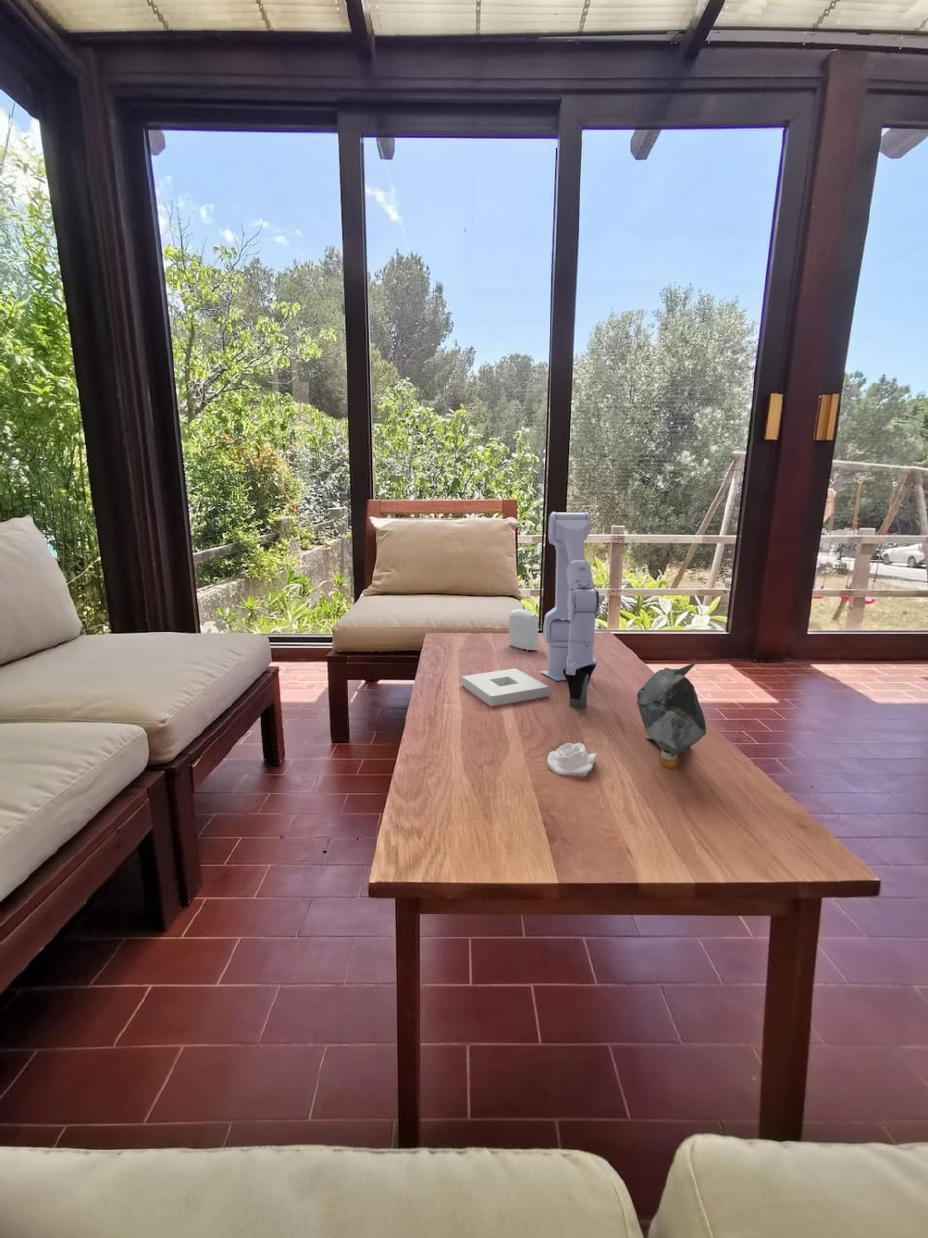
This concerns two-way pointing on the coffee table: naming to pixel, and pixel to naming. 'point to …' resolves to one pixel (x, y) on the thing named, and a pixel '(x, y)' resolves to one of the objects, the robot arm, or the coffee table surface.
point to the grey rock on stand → (671, 713)
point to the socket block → (504, 687)
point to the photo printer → (523, 629)
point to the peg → (583, 699)
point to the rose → (571, 760)
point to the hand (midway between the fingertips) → (578, 695)
